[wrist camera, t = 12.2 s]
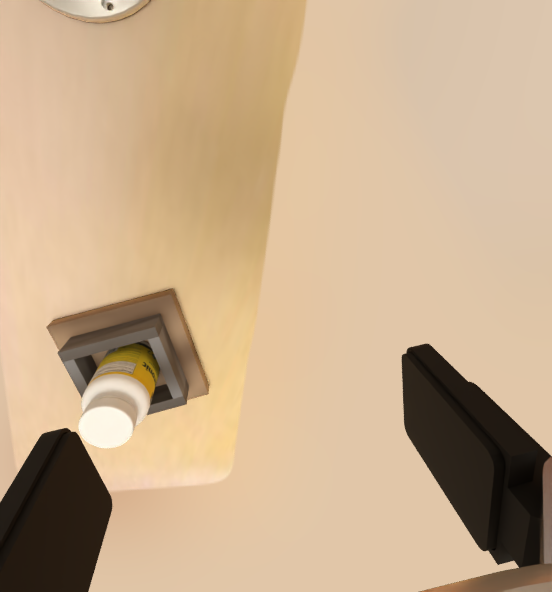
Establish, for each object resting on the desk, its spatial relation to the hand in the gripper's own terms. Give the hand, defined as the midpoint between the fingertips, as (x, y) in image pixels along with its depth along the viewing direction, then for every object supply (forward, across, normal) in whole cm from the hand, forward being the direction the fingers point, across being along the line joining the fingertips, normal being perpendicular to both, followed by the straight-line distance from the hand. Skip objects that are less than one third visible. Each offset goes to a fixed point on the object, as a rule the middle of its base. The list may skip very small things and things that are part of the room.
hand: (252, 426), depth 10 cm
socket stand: (+26, +12, +11) cm, 31 cm away
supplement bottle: (+25, +12, +11) cm, 30 cm away
